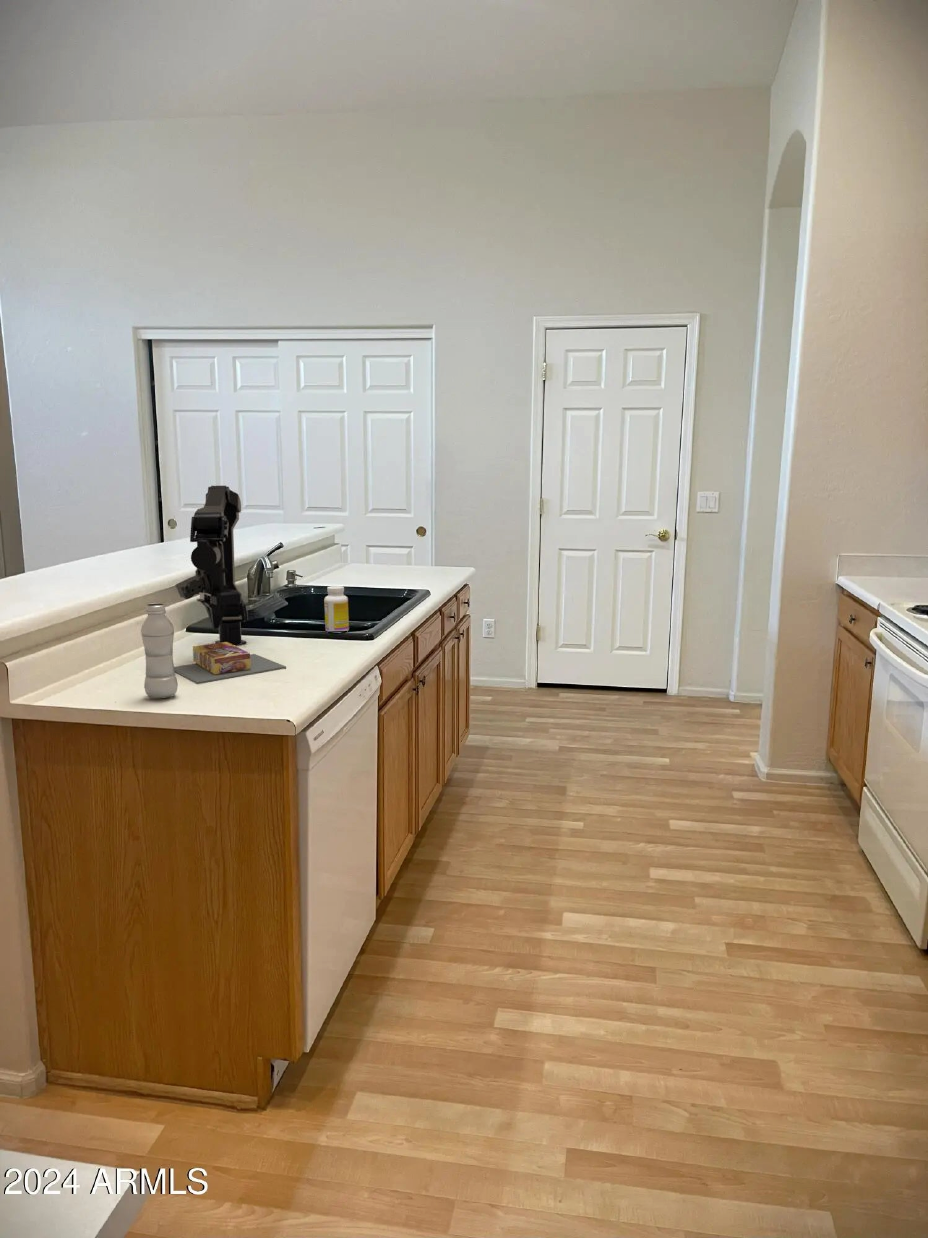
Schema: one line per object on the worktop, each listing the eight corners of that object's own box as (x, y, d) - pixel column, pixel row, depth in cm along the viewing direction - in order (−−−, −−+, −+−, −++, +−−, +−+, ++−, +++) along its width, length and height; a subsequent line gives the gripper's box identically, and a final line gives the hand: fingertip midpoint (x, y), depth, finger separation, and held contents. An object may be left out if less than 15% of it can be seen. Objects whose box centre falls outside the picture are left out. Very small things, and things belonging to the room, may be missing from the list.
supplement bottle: (353, 630, 253) (352, 586, 250) (340, 634, 247) (339, 589, 244) (333, 628, 255) (332, 584, 253) (320, 632, 249) (319, 588, 247)
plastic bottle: (149, 693, 189) (142, 602, 185) (181, 692, 190) (175, 601, 186) (141, 702, 183) (133, 607, 179) (174, 701, 183) (168, 607, 180)
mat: (169, 669, 210) (169, 667, 210) (254, 655, 223) (254, 653, 223) (197, 684, 197) (197, 682, 197) (286, 668, 210) (286, 666, 210)
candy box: (193, 663, 214) (214, 675, 202) (191, 646, 214) (213, 657, 201) (228, 658, 219) (251, 669, 207) (227, 641, 219) (250, 651, 206)
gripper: (163, 563, 212) (168, 626, 215) (194, 571, 198) (199, 639, 201) (208, 559, 219) (211, 620, 222) (240, 567, 204) (244, 633, 208)
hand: (215, 628), depth 213 cm, fingers closed
